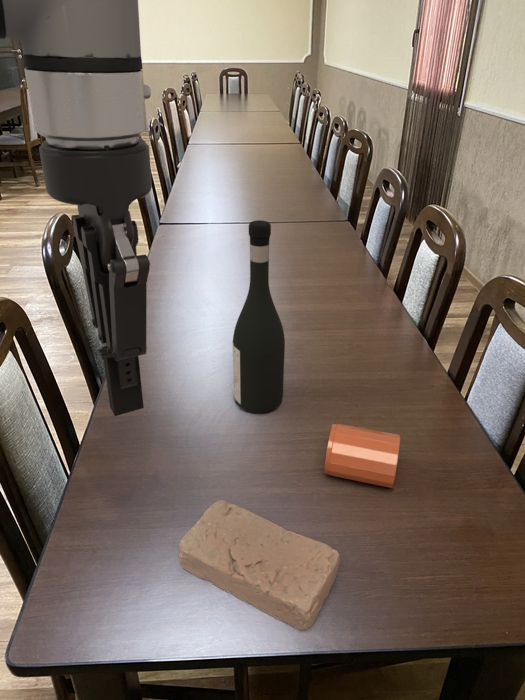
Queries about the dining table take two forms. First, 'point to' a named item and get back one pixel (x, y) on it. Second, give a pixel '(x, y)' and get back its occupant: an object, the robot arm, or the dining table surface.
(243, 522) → the brick
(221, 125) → the dining table surface
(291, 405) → the dining table surface
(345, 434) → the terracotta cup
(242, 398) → the wine bottle
